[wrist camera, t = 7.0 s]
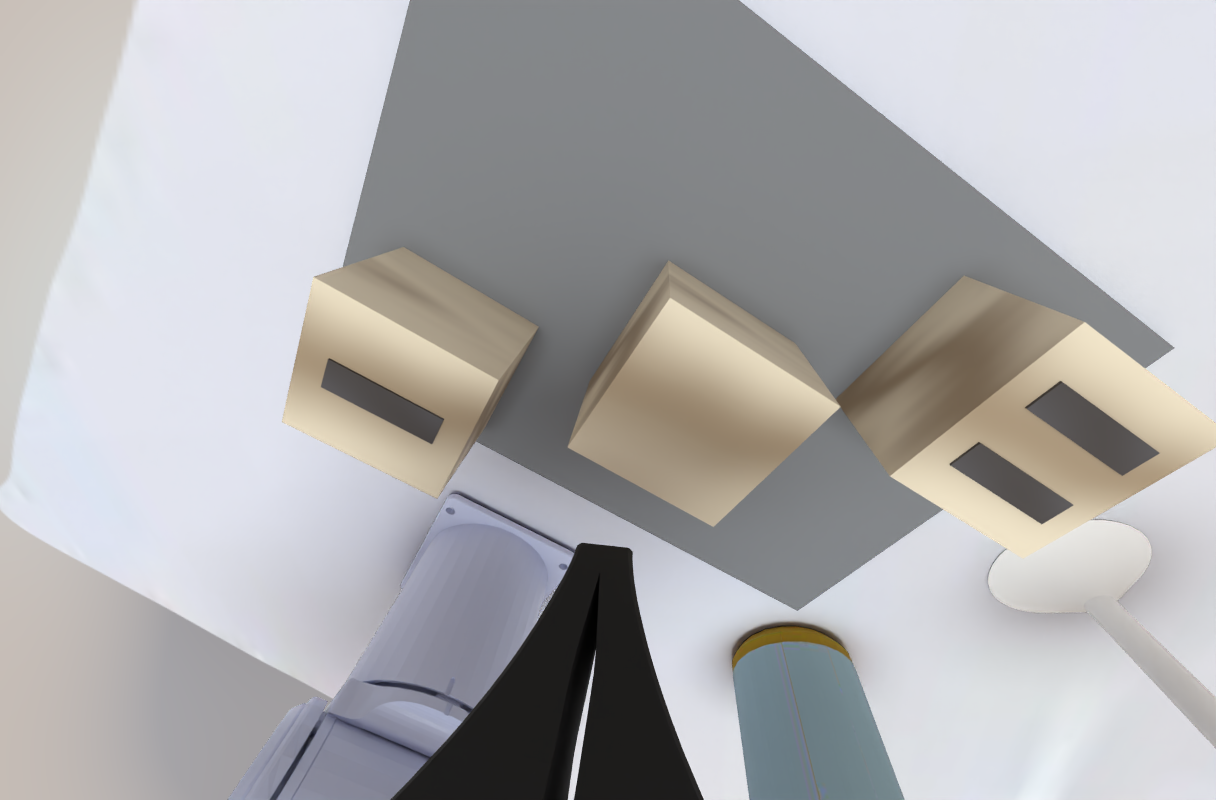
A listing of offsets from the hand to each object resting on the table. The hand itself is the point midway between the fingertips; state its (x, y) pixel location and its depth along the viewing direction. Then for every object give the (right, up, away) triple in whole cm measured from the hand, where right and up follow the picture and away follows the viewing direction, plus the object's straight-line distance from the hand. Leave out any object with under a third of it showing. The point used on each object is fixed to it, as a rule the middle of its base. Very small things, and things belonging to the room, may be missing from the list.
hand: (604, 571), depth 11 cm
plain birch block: (+3, +6, +7) cm, 10 cm away
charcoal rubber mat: (+4, +7, +7) cm, 10 cm away
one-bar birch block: (-7, +7, +7) cm, 12 cm away
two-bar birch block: (+14, +5, +6) cm, 16 cm away
